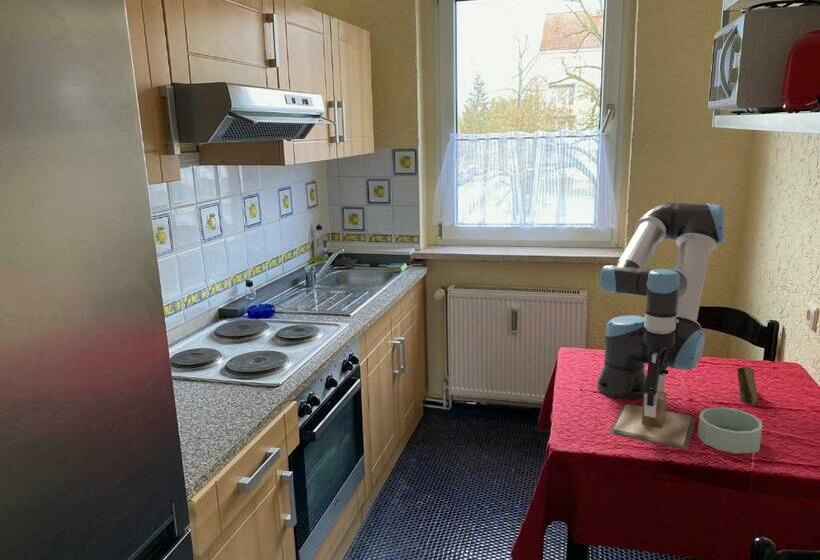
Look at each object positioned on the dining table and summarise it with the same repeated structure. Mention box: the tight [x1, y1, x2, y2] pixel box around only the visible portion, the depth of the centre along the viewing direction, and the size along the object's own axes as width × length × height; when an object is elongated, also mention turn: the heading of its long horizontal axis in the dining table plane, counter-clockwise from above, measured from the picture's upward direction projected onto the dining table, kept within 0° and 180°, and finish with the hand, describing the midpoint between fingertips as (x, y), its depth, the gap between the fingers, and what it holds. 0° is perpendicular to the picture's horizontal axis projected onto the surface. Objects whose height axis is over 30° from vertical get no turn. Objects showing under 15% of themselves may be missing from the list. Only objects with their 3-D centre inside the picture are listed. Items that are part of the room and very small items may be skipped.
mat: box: [608, 404, 696, 451], centre depth 165 cm, size 19×19×1 cm
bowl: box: [697, 406, 763, 455], centre depth 156 cm, size 14×14×6 cm
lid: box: [613, 391, 692, 447], centre depth 164 cm, size 17×17×9 cm
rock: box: [736, 366, 759, 406], centre depth 181 cm, size 11×9×10 cm
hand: (654, 406), depth 163 cm, fingers open, 13 cm apart
